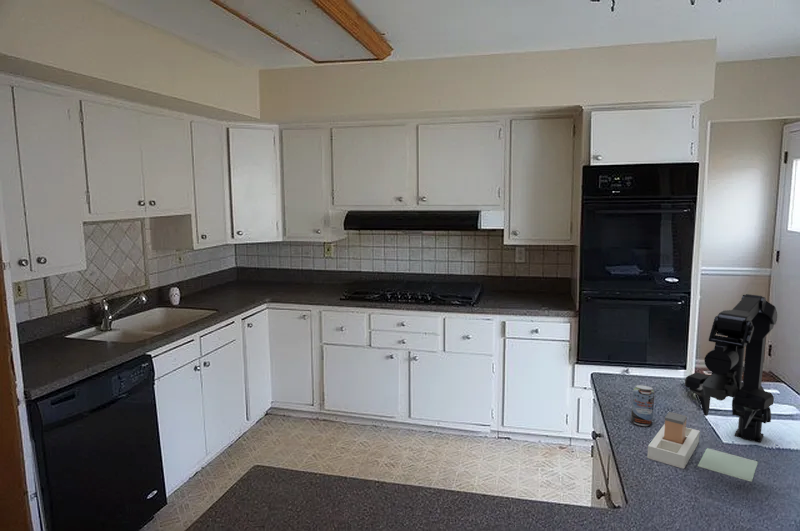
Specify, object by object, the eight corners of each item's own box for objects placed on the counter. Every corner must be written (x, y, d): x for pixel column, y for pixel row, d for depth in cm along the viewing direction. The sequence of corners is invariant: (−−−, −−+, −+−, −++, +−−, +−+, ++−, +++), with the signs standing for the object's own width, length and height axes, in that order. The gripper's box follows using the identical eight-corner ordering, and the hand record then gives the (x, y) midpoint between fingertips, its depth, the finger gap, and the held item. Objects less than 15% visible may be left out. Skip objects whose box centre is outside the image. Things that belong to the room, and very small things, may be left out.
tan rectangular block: (667, 444, 153) (669, 411, 151) (684, 449, 150) (687, 416, 149) (662, 450, 150) (664, 417, 148) (680, 455, 147) (683, 422, 145)
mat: (706, 449, 150) (707, 447, 150) (757, 463, 143) (758, 461, 143) (697, 468, 141) (697, 465, 141) (751, 483, 134) (751, 481, 134)
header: (664, 434, 160) (665, 422, 159) (698, 443, 154) (699, 430, 153) (647, 459, 146) (648, 445, 145) (683, 470, 140) (684, 456, 140)
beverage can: (630, 427, 165) (632, 390, 163) (630, 417, 172) (632, 381, 170) (653, 430, 162) (655, 392, 161) (652, 420, 169) (654, 384, 167)
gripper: (675, 359, 137) (671, 417, 140) (756, 381, 122) (750, 445, 124) (697, 351, 143) (693, 406, 146) (777, 370, 128) (771, 432, 131)
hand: (724, 421), depth 136 cm, fingers open, 9 cm apart
